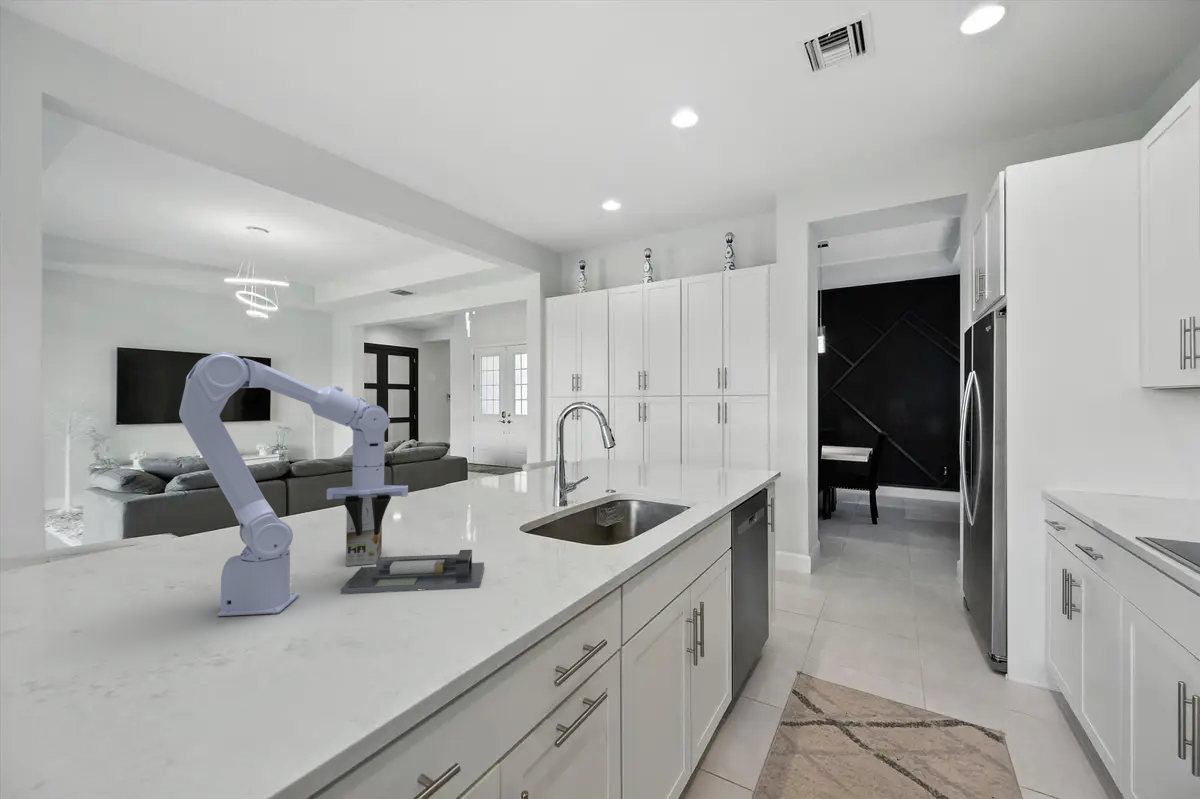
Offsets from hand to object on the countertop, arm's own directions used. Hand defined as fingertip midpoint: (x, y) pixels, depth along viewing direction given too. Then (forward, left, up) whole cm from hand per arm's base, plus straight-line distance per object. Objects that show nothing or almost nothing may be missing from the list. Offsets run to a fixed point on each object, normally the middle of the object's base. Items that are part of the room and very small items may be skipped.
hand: (368, 534), depth 100 cm
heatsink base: (+10, 0, -9) cm, 13 cm away
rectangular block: (+10, 0, -8) cm, 13 cm away
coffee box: (-5, +15, -10) cm, 18 cm away
